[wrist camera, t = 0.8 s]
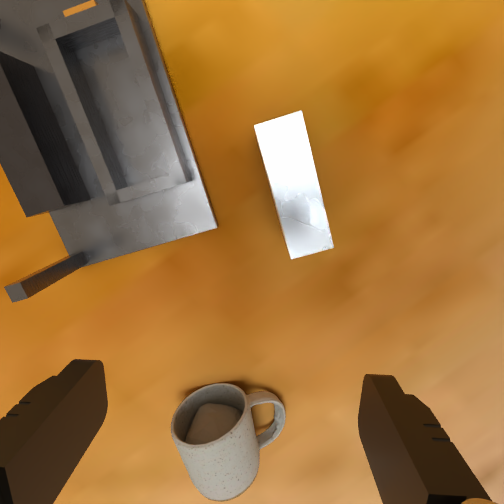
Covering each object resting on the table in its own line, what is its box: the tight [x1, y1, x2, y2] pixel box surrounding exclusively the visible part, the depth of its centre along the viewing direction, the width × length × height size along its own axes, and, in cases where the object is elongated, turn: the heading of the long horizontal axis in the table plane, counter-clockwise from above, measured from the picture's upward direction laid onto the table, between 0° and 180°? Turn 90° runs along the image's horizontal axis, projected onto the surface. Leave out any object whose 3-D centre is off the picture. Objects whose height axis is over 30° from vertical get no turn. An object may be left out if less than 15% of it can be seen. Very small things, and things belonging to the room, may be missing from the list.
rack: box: [0, 0, 218, 303], centre depth 23 cm, size 14×22×9 cm, turn 17°
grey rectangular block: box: [254, 110, 334, 259], centre depth 24 cm, size 3×9×8 cm, turn 17°
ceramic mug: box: [171, 383, 286, 502], centre depth 31 cm, size 11×8×8 cm
